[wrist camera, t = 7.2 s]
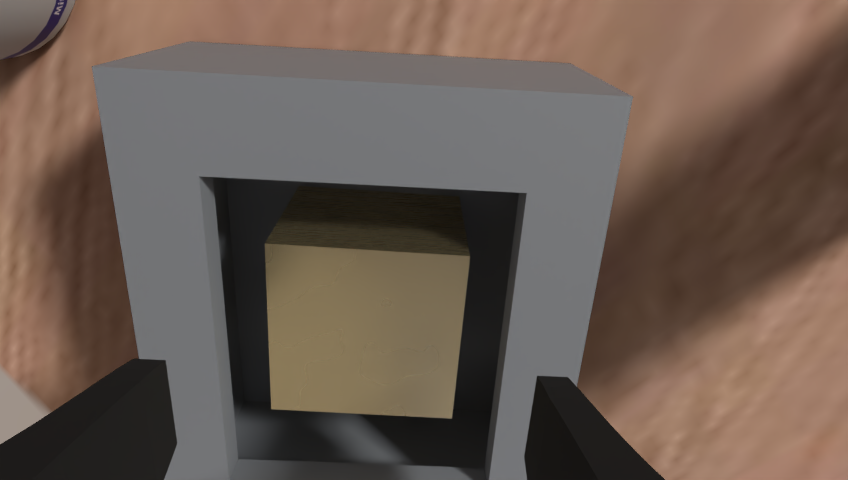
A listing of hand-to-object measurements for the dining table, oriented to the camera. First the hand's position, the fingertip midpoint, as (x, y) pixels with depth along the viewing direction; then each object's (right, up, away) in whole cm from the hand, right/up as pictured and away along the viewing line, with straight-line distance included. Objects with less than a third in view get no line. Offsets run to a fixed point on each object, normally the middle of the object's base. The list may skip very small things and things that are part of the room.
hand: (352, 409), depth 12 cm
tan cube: (0, +3, +6) cm, 7 cm away
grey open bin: (0, +3, +6) cm, 7 cm away
